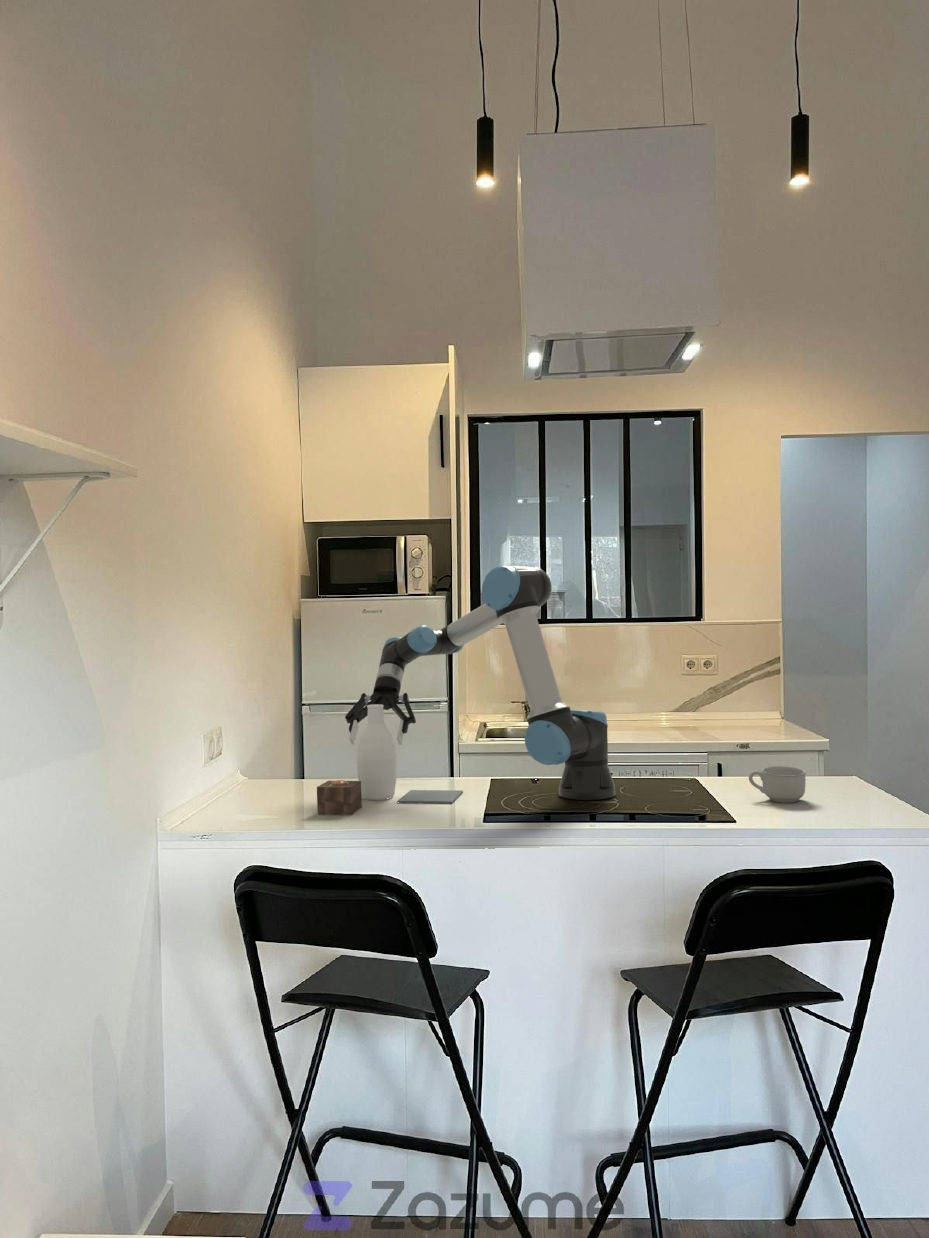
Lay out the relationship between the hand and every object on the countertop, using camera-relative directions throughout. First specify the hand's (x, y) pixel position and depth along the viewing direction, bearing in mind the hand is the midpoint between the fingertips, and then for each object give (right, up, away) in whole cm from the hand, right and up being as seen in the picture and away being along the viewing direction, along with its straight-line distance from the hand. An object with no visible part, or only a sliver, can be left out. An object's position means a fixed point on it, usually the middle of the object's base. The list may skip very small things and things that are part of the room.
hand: (375, 741), depth 265 cm
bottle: (+1, -15, -1) cm, 15 cm away
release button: (-7, -14, -18) cm, 24 cm away
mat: (+16, -15, -4) cm, 22 cm away
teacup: (+105, -13, -19) cm, 108 cm away
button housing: (-7, -16, -18) cm, 25 cm away
